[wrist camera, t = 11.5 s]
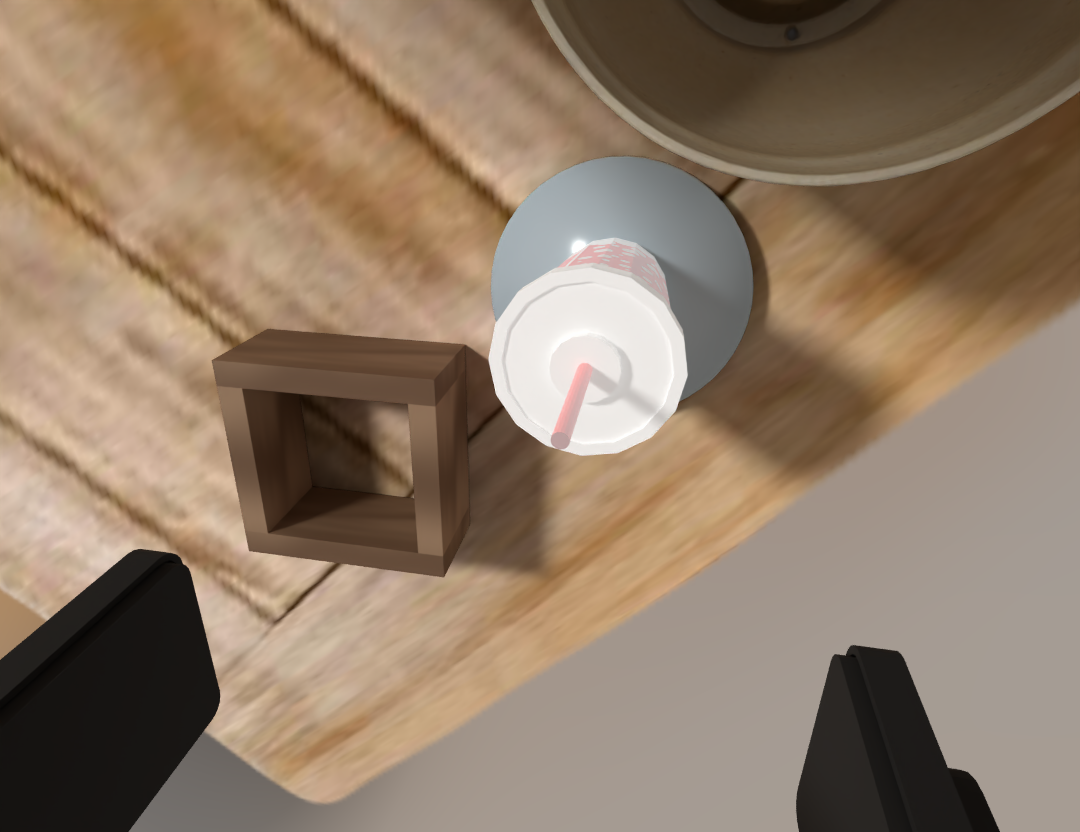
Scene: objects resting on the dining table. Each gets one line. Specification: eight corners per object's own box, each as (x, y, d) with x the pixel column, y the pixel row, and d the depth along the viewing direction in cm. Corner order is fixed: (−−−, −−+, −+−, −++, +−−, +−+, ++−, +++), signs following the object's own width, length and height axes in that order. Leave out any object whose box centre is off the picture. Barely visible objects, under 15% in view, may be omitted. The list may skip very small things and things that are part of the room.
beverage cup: (569, 377, 31) (494, 567, 18) (519, 248, 29) (397, 362, 16) (704, 337, 29) (721, 518, 17) (660, 195, 27) (642, 280, 15)
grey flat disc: (494, 151, 28) (489, 152, 28) (771, 160, 27) (773, 162, 26) (496, 396, 33) (492, 403, 32) (732, 417, 31) (733, 425, 30)
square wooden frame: (267, 329, 34) (211, 360, 30) (464, 344, 32) (434, 379, 28) (294, 502, 38) (249, 550, 34) (470, 524, 36) (444, 577, 32)
